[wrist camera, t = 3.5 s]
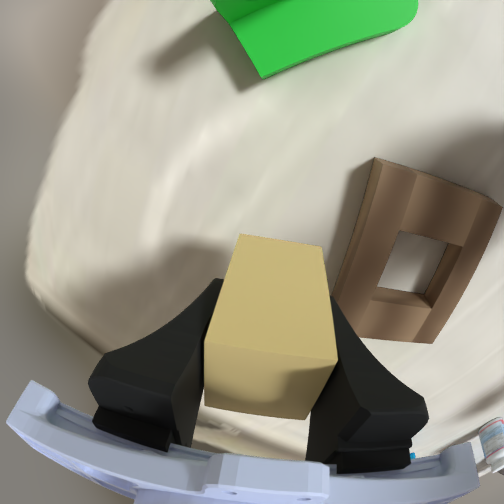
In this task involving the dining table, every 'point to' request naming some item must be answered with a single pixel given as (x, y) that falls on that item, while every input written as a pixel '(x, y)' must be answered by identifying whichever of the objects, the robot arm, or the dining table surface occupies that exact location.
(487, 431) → the pill bottle
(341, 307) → the brown square frame
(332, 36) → the mechanical part
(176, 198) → the dining table surface
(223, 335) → the sand colored cuboid
